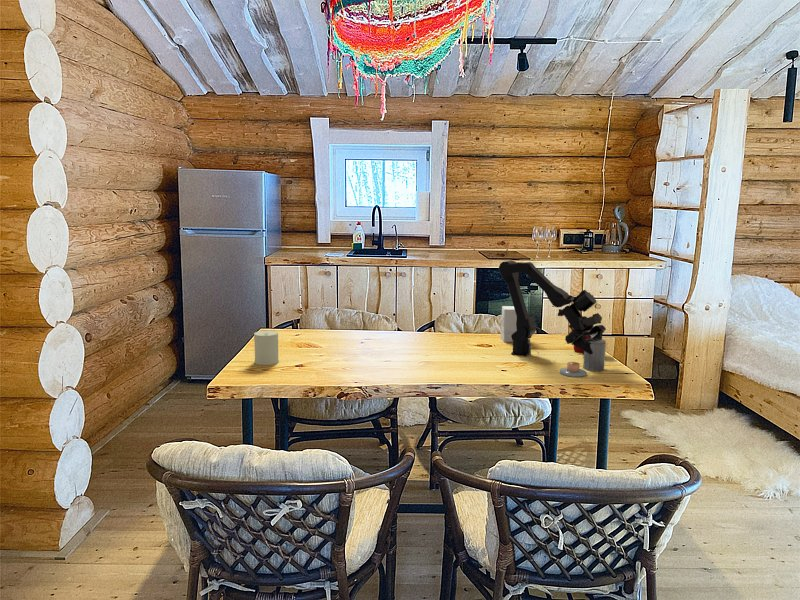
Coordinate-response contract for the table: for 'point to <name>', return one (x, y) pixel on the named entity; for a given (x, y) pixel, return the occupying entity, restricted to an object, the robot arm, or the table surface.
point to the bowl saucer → (582, 373)
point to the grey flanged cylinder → (595, 355)
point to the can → (266, 347)
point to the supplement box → (508, 323)
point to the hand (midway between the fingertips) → (597, 352)
